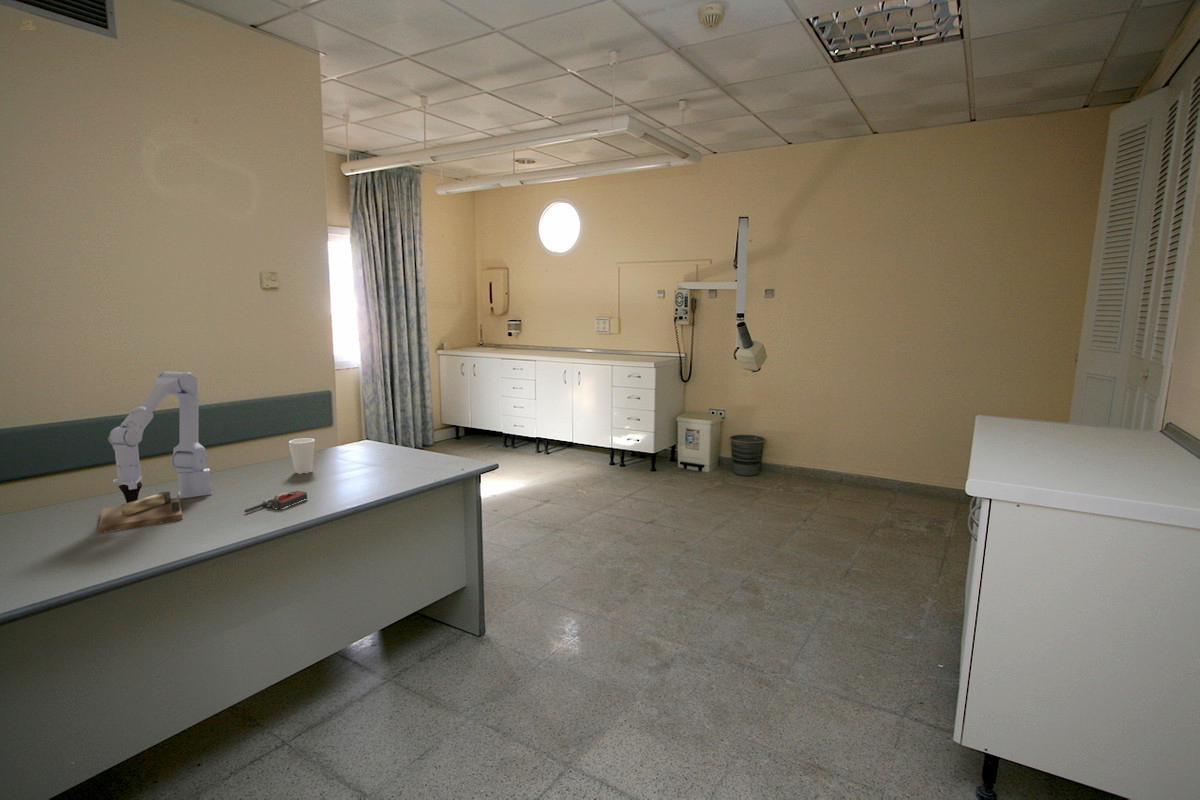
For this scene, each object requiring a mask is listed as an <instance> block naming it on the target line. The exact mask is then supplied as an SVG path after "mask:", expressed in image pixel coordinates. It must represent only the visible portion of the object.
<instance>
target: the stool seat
mask: <svg viewBox="0 0 1200 800" xmlns="http://www.w3.org/2000/svg"><path fill="white" fill-rule="evenodd" d="M181 519H182V520H183V513H182V505H181V499H179V497H174V498H171V502H168V503H164V504H161V505H158V506H154V507H151V508H148V509H145V510H142V511H139V512H136V513H133V514H129V515H124V514H122V512H121V505H116V506H110V507H104V508H103V507H102V511H101V514H100V519H99V524H98V533H99V532H102V533H105V532H104V531H108V532H111V531H110V530H114V531H119V530H118V529H120V530H125V529H124V528H127V529H132V528H131V527H133V528H139V527H145V526H151V525H150V524H152V525H156V524H155V523H158V524H161V523H160V522H164V523H168V522H167V521H170V522H175V521H174V520H176V521H182V520H181ZM144 525H145V526H144ZM138 526H139V527H138Z"/></svg>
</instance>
